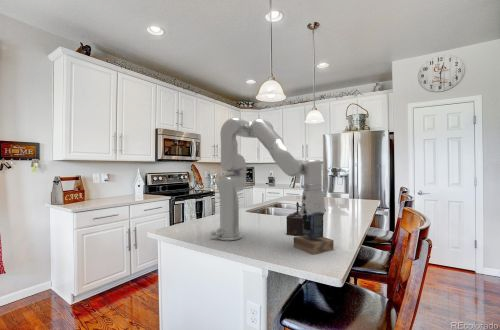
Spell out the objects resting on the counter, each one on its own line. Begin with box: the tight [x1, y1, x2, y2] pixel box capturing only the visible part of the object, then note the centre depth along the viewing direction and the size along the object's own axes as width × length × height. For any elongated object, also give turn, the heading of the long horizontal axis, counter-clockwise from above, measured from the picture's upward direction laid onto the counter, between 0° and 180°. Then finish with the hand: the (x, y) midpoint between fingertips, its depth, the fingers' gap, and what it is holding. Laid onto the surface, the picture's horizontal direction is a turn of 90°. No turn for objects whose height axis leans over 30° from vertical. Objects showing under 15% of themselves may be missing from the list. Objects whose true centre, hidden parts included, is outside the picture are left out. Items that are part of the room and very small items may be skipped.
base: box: [293, 235, 335, 256], centre depth 110 cm, size 12×12×4 cm
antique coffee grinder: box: [285, 201, 304, 237], centre depth 133 cm, size 16×11×18 cm
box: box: [302, 212, 324, 239], centre depth 110 cm, size 8×6×11 cm
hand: (312, 228), depth 110 cm, fingers closed on box, 6 cm apart
